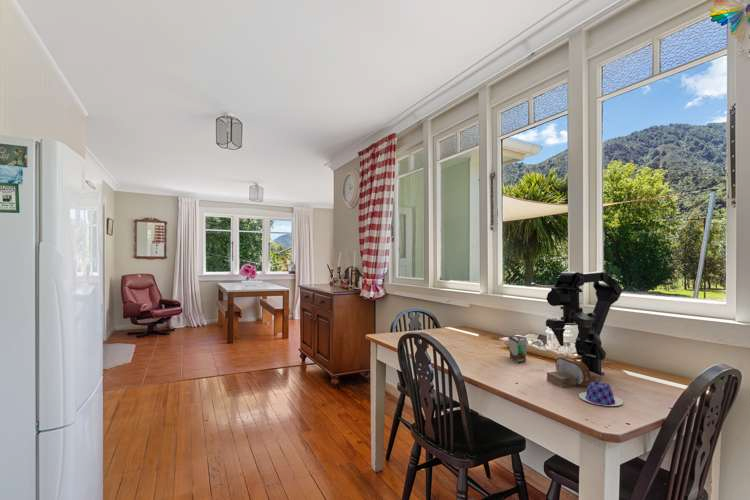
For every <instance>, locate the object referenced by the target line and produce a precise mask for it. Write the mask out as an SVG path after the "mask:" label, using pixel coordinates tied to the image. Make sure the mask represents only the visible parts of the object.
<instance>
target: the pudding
mask: <svg viewBox="0 0 750 500" xmlns="http://www.w3.org/2000/svg"><path fill="white" fill-rule="evenodd" d="M587 386H588V387H587V390H586V391H585V392H583V391H582V392H580V393H579V394H578V396H579V399H582V401H584V402H588V403H590V404H594V405H598V406H602V405H603V406H606V407H607V406H608V407H616V406H621V405H623V404H624V402H623V400H622V399H621V398H619V397H617V396H615V395H614V393H613V389H612V387H611V385H609V384H607V383H605V382H602V381H601V382H591V383H590V384H589V385H587Z"/></svg>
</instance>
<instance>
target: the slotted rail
mask: <svg viewBox="0 0 750 500" xmlns="http://www.w3.org/2000/svg"><path fill="white" fill-rule="evenodd" d="M589 372H590V371H589ZM601 375H602V374H600V375H598V374H595V373H593V372H590V376H591V380H590V383H591V382H601V383H602V376H601ZM546 381H547V382H549V383H552V384H554V385H556V386H558V387H560V388H571V387H573V388H574V387H577V386H578V385H577V382H576V377H574V376H571V375H569V374H566V373H564V372H561V371H548V372H546ZM590 383H589V384H590ZM589 384H588V385H587V386H589Z"/></svg>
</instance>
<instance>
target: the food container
mask: <svg viewBox="0 0 750 500" xmlns="http://www.w3.org/2000/svg"><path fill="white" fill-rule="evenodd" d="M508 344H509V345H508V346H509V358H510V359H511V360H513V361H514V362H515V363H517V364H524V363H526V362H527V359H526V358H527V347H528V346H527V345H528V344H529V342H528V339H527V337H526V336H525V337H524V336H521V335H513V334H512V335H510V334H509V335H508Z"/></svg>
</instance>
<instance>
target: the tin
mask: <svg viewBox="0 0 750 500" xmlns="http://www.w3.org/2000/svg"><path fill="white" fill-rule="evenodd" d="M555 370H556V371H561V372H564V373H566V374H569V375H571V376H574V377H576V382H577V386H578V387H583V386H589V385H588V384H589V383H590V380H591V376H590V372H589V369H588V368H587V366H586V365H585V364H584V363H582V362H581V360H578V359H575V358H572V357H569V356H568V355H567V356H566V355H564V356H560V357H558V358H556V360H555ZM556 371H555V372H556Z"/></svg>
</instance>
